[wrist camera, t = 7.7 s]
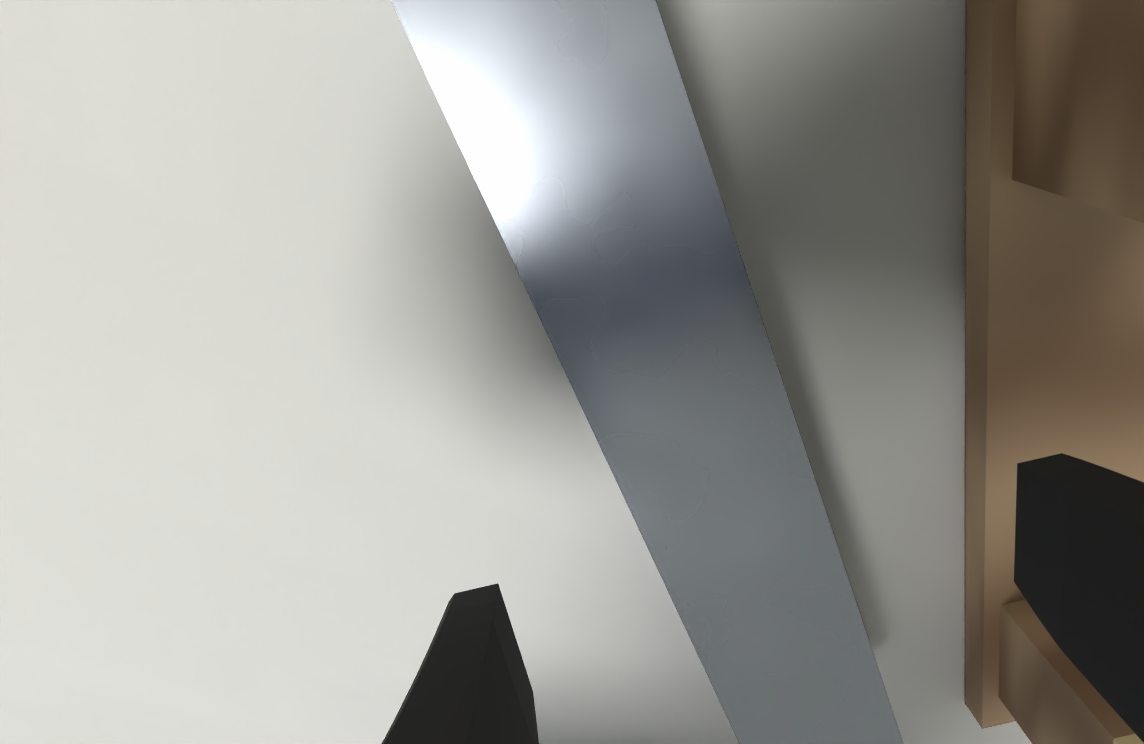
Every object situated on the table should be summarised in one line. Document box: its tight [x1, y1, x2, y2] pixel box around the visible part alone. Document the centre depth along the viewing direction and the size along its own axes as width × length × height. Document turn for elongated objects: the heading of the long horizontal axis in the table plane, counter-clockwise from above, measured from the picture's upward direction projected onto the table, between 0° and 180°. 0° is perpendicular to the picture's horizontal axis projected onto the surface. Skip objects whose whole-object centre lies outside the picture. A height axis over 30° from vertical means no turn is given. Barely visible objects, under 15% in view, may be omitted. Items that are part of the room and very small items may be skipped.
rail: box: [391, 0, 903, 744], centre depth 15 cm, size 18×3×3 cm, turn 23°
